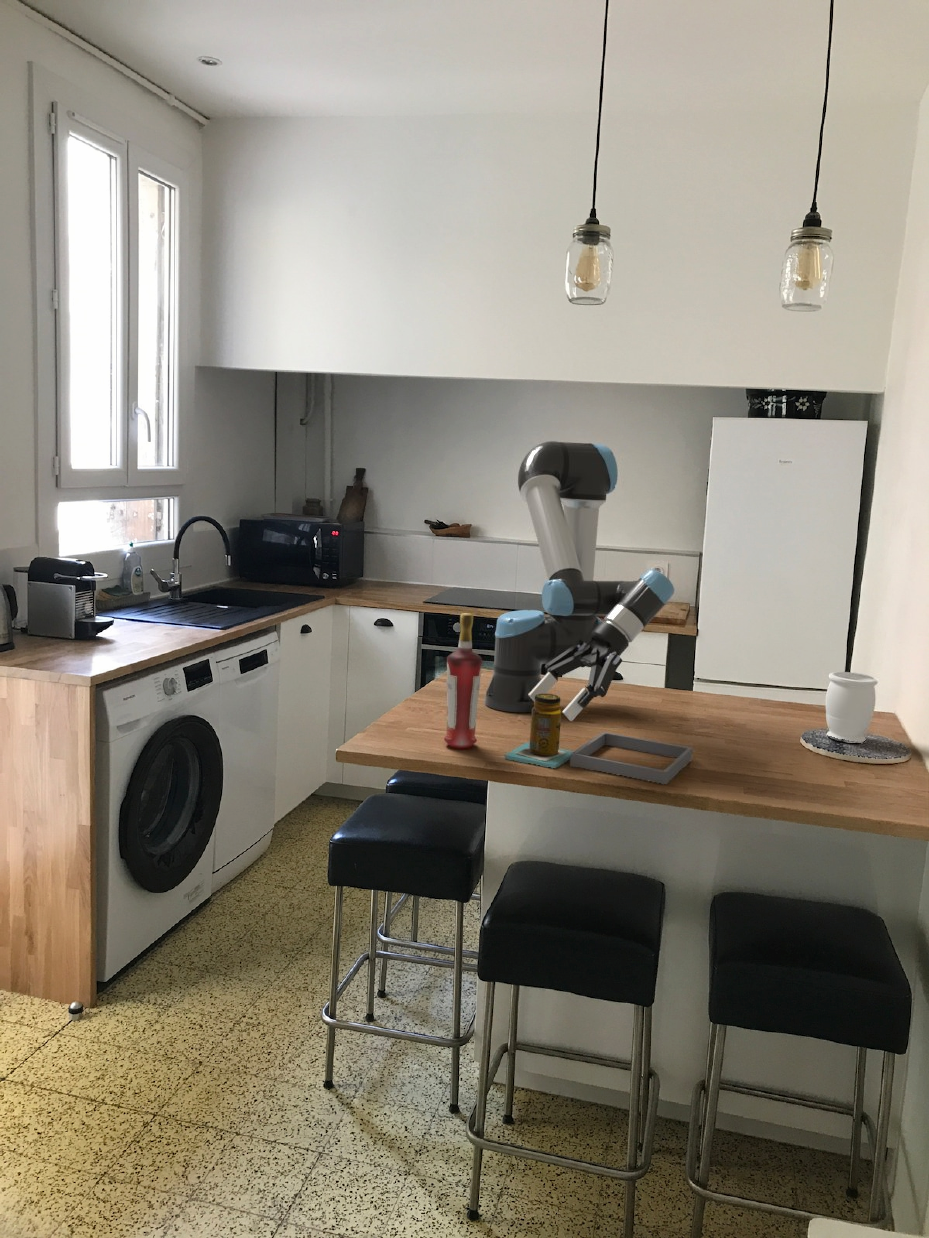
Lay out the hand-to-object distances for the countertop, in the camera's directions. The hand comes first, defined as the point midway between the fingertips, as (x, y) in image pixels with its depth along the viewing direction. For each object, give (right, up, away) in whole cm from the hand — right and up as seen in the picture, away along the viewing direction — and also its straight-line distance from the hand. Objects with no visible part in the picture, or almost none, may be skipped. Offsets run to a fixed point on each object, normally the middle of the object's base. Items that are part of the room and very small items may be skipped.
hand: (549, 707), depth 197 cm
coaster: (-2, -10, +2) cm, 11 cm away
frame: (+17, -11, +1) cm, 21 cm away
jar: (+71, -10, +27) cm, 77 cm away
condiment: (-1, -10, +1) cm, 10 cm away
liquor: (-18, -9, +7) cm, 21 cm away
